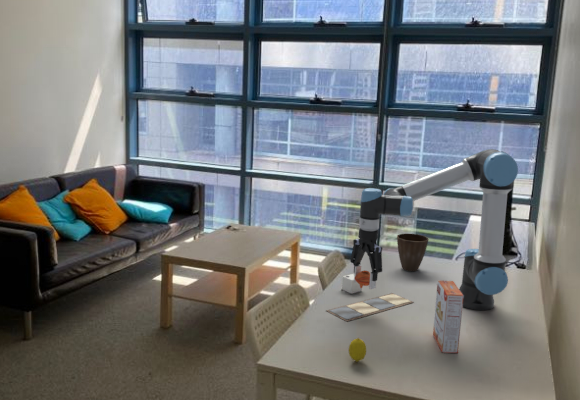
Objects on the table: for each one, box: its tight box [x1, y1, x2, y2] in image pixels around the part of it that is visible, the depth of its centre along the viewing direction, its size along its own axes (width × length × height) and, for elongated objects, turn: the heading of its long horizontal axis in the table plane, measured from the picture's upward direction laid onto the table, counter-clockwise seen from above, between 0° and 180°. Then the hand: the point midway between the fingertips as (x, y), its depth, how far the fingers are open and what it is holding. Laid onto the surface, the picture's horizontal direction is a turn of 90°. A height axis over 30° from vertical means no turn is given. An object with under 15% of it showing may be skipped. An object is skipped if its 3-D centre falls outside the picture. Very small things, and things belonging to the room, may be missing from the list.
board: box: [325, 292, 414, 322], centre depth 229 cm, size 12×37×1 cm, turn 127°
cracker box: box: [432, 280, 464, 354], centre depth 196 cm, size 14×6×21 cm, turn 178°
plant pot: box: [396, 233, 429, 272], centre depth 277 cm, size 15×15×16 cm
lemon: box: [348, 337, 367, 363], centre depth 182 cm, size 6×6×8 cm
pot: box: [355, 270, 371, 289], centre depth 224 cm, size 8×8×7 cm
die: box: [341, 273, 363, 294], centre depth 246 cm, size 6×6×6 cm
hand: (364, 284), depth 225 cm, fingers closed on pot, 8 cm apart
